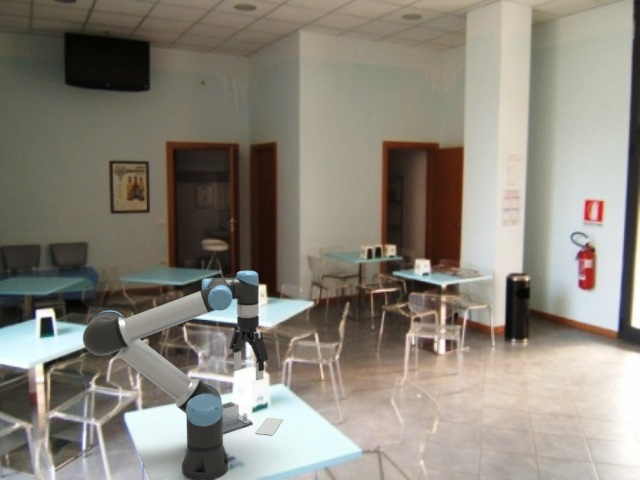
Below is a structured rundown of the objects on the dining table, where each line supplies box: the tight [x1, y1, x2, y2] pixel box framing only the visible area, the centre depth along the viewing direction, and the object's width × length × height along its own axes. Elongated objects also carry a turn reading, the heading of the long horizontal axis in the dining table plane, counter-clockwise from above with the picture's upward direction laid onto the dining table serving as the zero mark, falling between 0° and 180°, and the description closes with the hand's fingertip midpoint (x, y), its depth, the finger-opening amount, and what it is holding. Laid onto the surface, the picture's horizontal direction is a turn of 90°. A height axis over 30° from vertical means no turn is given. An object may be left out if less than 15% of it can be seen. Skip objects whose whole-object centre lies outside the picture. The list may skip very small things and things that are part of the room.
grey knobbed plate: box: [223, 412, 254, 435], centre depth 227 cm, size 16×12×4 cm
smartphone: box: [255, 417, 284, 437], centre depth 226 cm, size 7×1×15 cm
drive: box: [222, 401, 240, 428], centre depth 227 cm, size 7×5×7 cm
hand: (248, 374), depth 206 cm, fingers open, 13 cm apart
